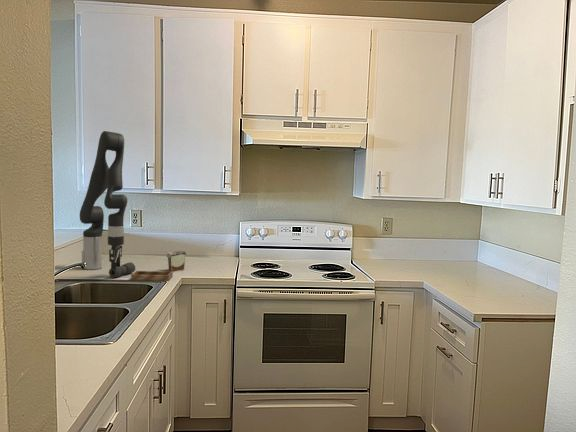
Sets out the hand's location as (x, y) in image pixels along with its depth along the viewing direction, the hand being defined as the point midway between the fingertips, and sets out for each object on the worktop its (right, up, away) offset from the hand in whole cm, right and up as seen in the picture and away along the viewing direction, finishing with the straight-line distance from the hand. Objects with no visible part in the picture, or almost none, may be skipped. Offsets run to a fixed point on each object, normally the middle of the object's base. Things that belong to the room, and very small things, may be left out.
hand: (115, 268), depth 233 cm
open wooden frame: (+18, -5, +1) cm, 19 cm away
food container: (+23, -4, +22) cm, 33 cm away
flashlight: (0, -6, -1) cm, 6 cm away
